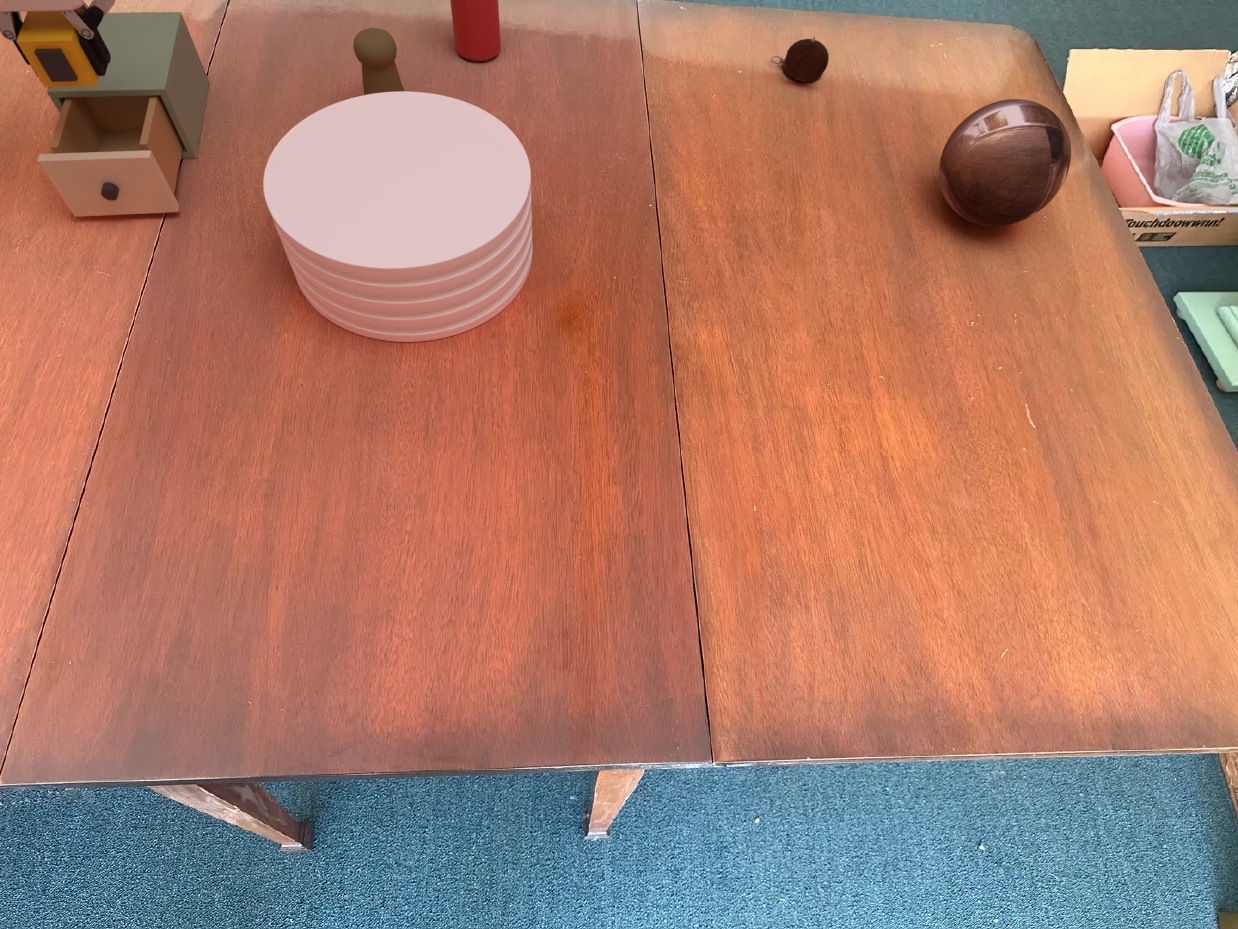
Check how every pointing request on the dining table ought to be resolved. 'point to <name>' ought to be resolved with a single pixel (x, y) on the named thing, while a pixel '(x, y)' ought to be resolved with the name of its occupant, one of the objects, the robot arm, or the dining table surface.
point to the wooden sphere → (1005, 162)
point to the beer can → (476, 28)
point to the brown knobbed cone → (377, 61)
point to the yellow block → (55, 50)
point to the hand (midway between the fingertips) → (73, 67)
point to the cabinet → (151, 69)
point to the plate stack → (403, 214)
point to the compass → (805, 60)
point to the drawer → (115, 156)
